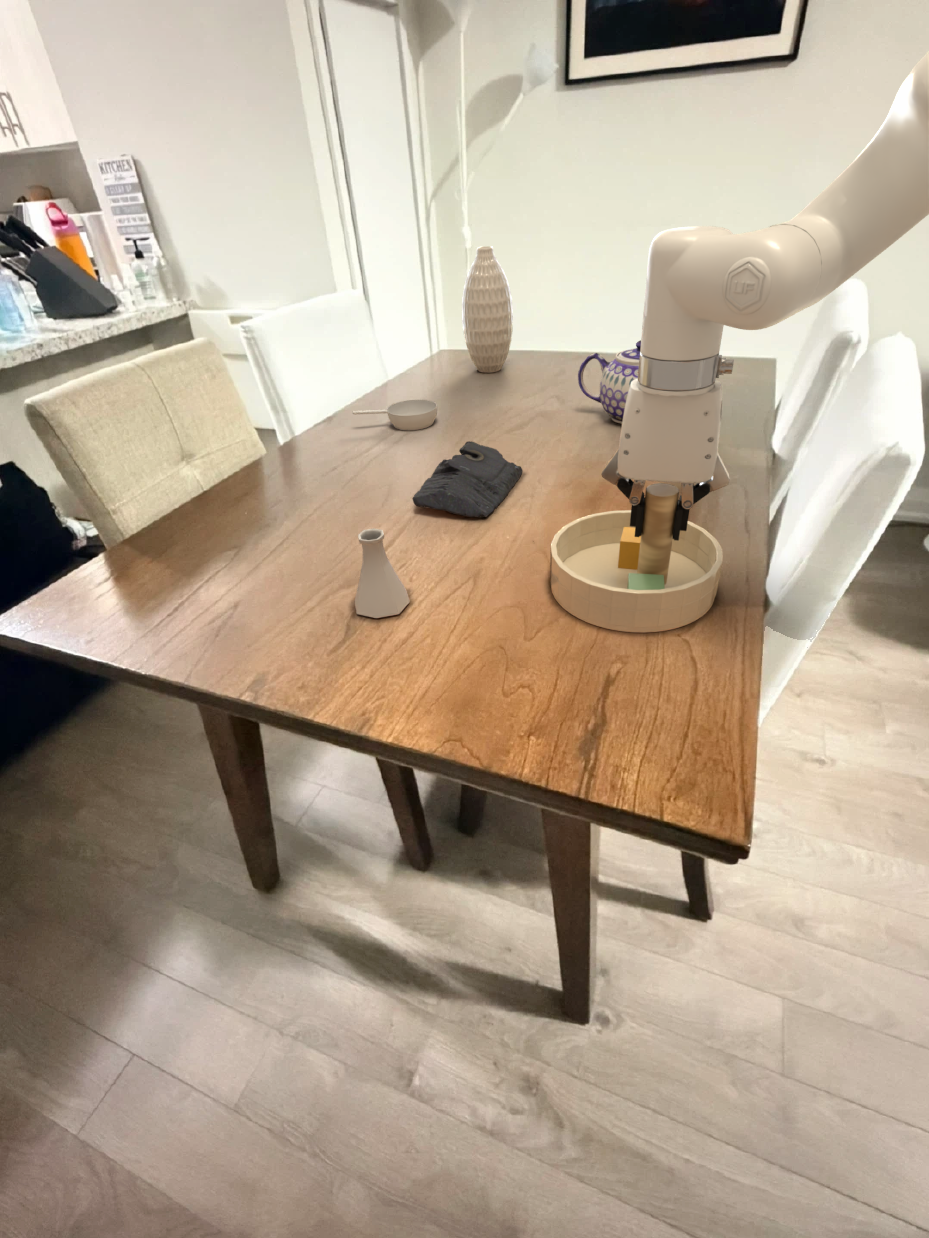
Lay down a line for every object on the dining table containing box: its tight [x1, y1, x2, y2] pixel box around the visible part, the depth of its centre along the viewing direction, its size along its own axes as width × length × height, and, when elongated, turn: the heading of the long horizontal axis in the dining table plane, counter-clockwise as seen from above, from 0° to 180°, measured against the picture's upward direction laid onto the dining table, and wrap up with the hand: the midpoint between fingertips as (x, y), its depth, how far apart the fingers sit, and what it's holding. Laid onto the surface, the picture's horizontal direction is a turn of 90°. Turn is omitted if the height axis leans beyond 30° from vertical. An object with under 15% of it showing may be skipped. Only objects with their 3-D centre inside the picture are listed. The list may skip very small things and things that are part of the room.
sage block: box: [627, 573, 665, 590], centre depth 75 cm, size 4×4×4 cm
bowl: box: [549, 509, 724, 634], centre depth 81 cm, size 20×20×6 cm
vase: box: [461, 245, 514, 374], centre depth 161 cm, size 13×13×28 cm
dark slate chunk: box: [412, 440, 524, 518], centre depth 108 cm, size 15×22×5 cm
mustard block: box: [618, 527, 641, 570], centre depth 84 cm, size 4×4×4 cm
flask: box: [354, 528, 411, 619], centre depth 80 cm, size 7×7×10 cm
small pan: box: [351, 398, 438, 431], centre depth 137 cm, size 11×18×4 cm, turn 97°
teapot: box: [577, 339, 641, 425], centre depth 128 cm, size 25×15×15 cm, turn 61°
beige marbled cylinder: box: [637, 482, 680, 585], centre depth 75 cm, size 4×4×12 cm
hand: (657, 532), depth 75 cm, fingers closed on beige marbled cylinder, 3 cm apart
